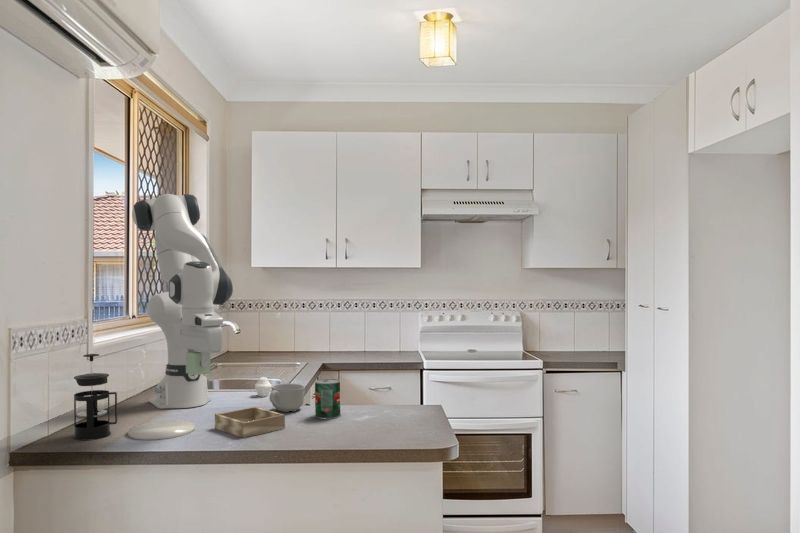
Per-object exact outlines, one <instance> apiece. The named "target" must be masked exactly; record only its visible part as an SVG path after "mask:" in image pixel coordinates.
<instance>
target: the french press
mask: <svg viewBox="0 0 800 533" xmlns="http://www.w3.org/2000/svg"><path fill="white" fill-rule="evenodd" d="M99 356H100V354H98V353H87V354H84V355H82V357H84V358H85V357H86V358H89V362H90V373H85V374H79V375H75V376H73V380H75V381H76V383H77V385H78V386H80V387H90V390H86V391H80V392H76V393H74V395H73V409H74V410H73V411H74V412H73V413H74V415H73V417H74V419H73V420H74V425H73V426H74V434H73V439H74V438H76V439H86V440H85V441H88V440H87V439H94V440H98V438H100V439H104V438H106V437H109V436H111V433H112V432H111V427H110V426H111V425H117V424H118V392H117V391H112V392H111V391H109V390H105V389H104V390H103V389H100V390H99V389H96V390H94V389H93V386H101V385H105V384H107V383H108V378H109V376H110V374H108V373H104V372H103V373H101V372H98V373H97V372H94V373H93V362H94V357H99ZM110 395H114V417H115V419H114V421H111V420H110V417H111V416H110V410H111V409H110ZM105 399H107V409H98V401H99V400H105ZM77 402H85V403H86V404H85V405H86V410H84V411H83V410H82V411H80V412H77ZM105 416H107V418H108V419H107V420H105V419H98V418H102V417H105ZM77 419H85V420H86V421H82V422H79V423H77ZM76 439H75V440H76Z"/></svg>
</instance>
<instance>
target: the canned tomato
mask: <svg viewBox="0 0 800 533" xmlns="http://www.w3.org/2000/svg"><path fill="white" fill-rule="evenodd" d="M314 402H315V404H314V407H315V410H314V411H315V412H314V415H315V416H316V417H318V418H317V419H319V418H326V419H325V420H332V419H331V418H333V419H337V417H338V418H340V417H341V380H340V379H336V378H321V379H317V380H315V381H314Z"/></svg>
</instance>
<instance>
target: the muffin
mask: <svg viewBox="0 0 800 533" xmlns="http://www.w3.org/2000/svg"><path fill="white" fill-rule="evenodd" d="M272 386H273V385H272V384H271V383H270V381H269V378H267V377H266V376H262V377H259V378H258V379H257V382H256V383H255V384H254V389H255V392H256V394H257V396H258V397H261V398H264V397H268V396H269V395H270V393H271V391H272Z"/></svg>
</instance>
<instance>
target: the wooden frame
mask: <svg viewBox="0 0 800 533" xmlns="http://www.w3.org/2000/svg"><path fill="white" fill-rule="evenodd" d="M253 420H254V421H253ZM248 421H249V422H248ZM284 428H285V429H286V415H285V414H284V413H281V412H276V411H272V410H268V409H264V408H260V407H258V406H252V407H248V408H247V407H246V408H242V409H237V410H232V411H226V412H221V413H216V414H214V429H216V430H219V431H223V432H225V433H228V434H231V435H234V436H237V437H241V438H245V437H246V438H249V436H250V437H253V435H254V436H259V435H262V434H261V433H263V434H267V433H266V432H268V433H271V432H270V431H272V432H275V430H276V431H279V430H280V429H281V430H285V429H284ZM258 434H259V435H258Z"/></svg>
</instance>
